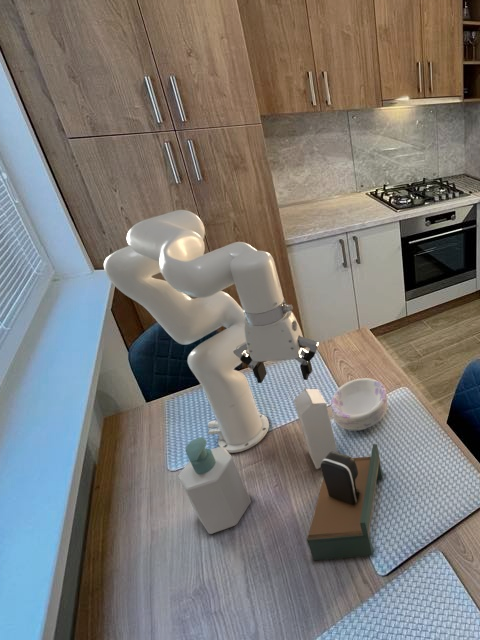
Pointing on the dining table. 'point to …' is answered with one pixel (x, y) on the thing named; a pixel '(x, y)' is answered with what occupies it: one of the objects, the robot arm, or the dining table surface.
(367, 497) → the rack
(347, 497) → the battery charger
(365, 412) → the paper bowls
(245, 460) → the dining table surface
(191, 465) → the soap bottle
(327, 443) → the milk
